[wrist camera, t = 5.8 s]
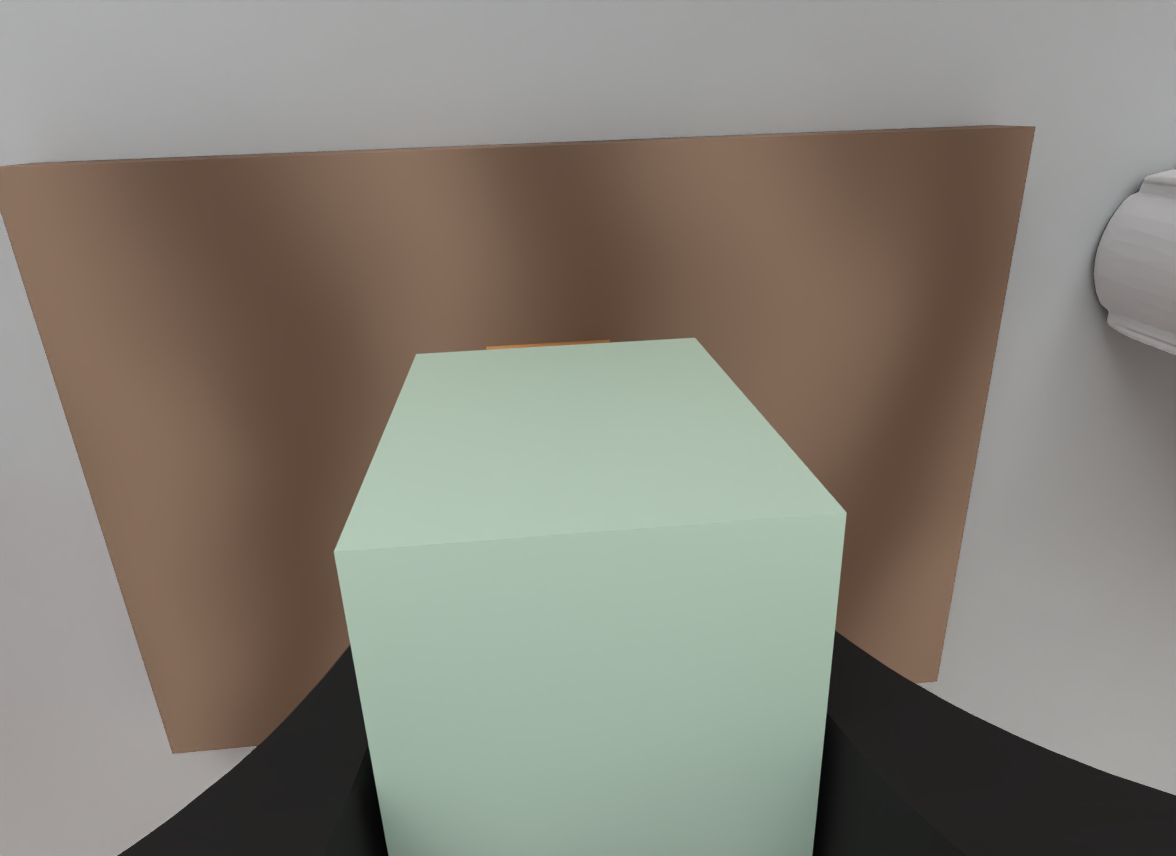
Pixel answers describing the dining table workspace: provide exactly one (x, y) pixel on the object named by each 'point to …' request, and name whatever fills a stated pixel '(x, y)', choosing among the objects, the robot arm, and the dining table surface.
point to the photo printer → (1141, 264)
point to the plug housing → (590, 609)
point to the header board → (498, 321)
